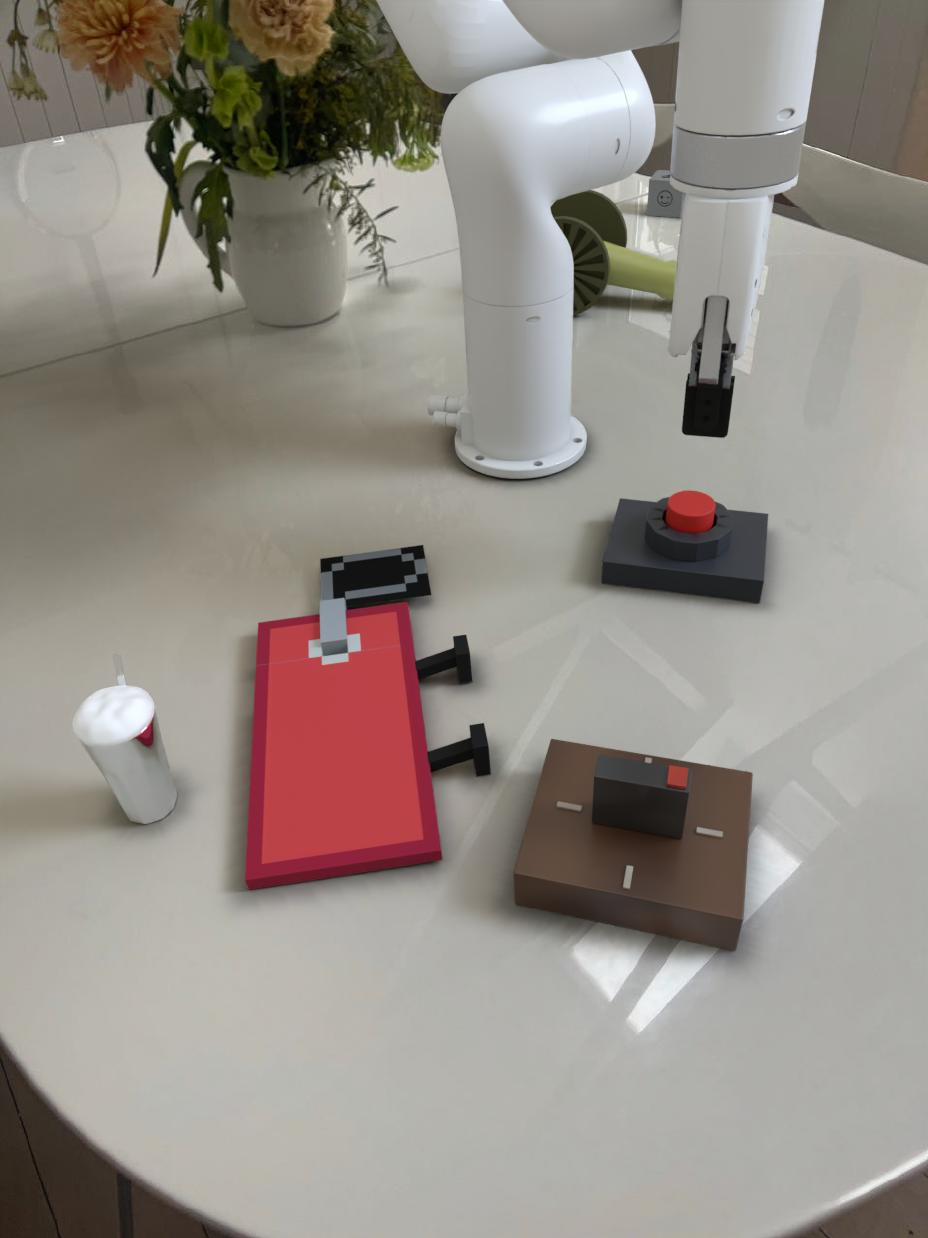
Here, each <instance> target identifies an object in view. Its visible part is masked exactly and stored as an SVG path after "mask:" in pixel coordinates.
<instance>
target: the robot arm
mask: <svg viewBox="0 0 928 1238" xmlns="http://www.w3.org/2000/svg"><path fill="white" fill-rule="evenodd" d="M375 1H376V4H377V6H378V7H379V8H380V11H381V12H382V15H383V17H384V18H385V21H386V23H388V25H389V28H390V29H391V31H392V33H393V35H394V36H395V39H396V40H397V42H398V44H399V46H400V48H401V49H402V52H403V53H404V55H405V57H406V58H407V61H408V63H410V65H411V67H412V68H413V70H414V72H415V73H416V74H417V76H418V77H419V79H420V80H421V81H422V83H424V84H425V85H426V86H427V88H430V89H431V90H433V91H435V92H436V93H437V92H438V93H440V94H448V95H449V94H450V95H451V94H456V95H455V96H454V97H453V99H452V100H451V101H450V103H449V104H448V106H447V108H446V110H445V112H444V114H443V118H442V120H441V121H442V122H441V127H440V148H441V156H442V161H443V166H444V170H445V175H446V179H447V183H448V188H449V192H450V196H451V200H452V205H453V210H454V217H455V222H456V229H457V237H458V246H459V247H458V248H459V259H460V275H461V276H460V277H461V289H462V304H463V305H462V307H463V321H464V340H465V359H466V360H465V361H466V377H467V394H461V396H460V397H450V396H448V395H438V394H430V395H429V396H428V400H427V413H428V415H429V416H432V425H433V426H435V427H453V428H455V429H456V432H455V436H454V450H455V453H456V456H457V457H458V459H459V460H460V461H461V462H462V463H463V464H465V466H467V467H468V468H470V469H471V470H473V471H475V472H478V473H480V474H483V475H486V476H489V477H495V478H500V479H509V480H524V479H525V480H526V479H534V478H542V477H546V476H551V475H554V474H557V473H559V472H561V471H564V470H565V469H568V468H570V467H571V466H572V465H574V464H575V463H576V462H578V461H579V460H580V459H581V458H582V457H583V456H584V454H585V451H586V450H587V441H588V435H587V429H586V428H585V426H584V424H583V423H581V421H580V420H579V419H577V418H576V417H574V416H573V415H572V384H573V383H572V382H573V381H572V379H573V376H572V375H573V337H574V336H573V335H574V331H573V330H574V325H573V324H574V315H573V292H574V265H573V256H572V251H571V248H570V245H569V243H568V240H567V239H566V237H565V235H564V234H563V232H562V231H561V229H560V228H559V226H558V224H557V223H556V221H555V219H554V218H553V216H552V213H551V206H552V204H553V203H554V202H555V201H556V200H559V199H562V198H565V197H567V196H570V195H573V194H577V193H581V192H585V191H588V190H595V189H600V188H602V187H606V186H610V185H613V184H616V183H618V182H621V181H624V180H625V179H627V178H629V177H630V176H632V175H633V174H635V173H636V172H637V171H639V169H641V167H642V166H643V165H644V164H645V163H646V161H647V160H648V158H649V156H650V154H651V152H652V149H653V146H654V142H655V137H656V125H657V123H656V110H655V105H654V100H653V96H652V93H651V89H650V87H649V83H648V81H647V79H646V76H645V74H644V73H643V70H642V68H641V66H640V65H639V62H638V60H637V59H636V57H635V55H634V54H633V51H634V50H640V49H643V48H649V47H658V46H664V45H670V44H675V43H679V44H678V55H677V68H676V69H677V71H676V85H675V99H674V100H675V101H674V110H673V111H674V112H673V127H672V129H673V130H672V139H671V140H672V141H671V155H670V166H669V167H670V169H669V171H670V185H671V186H672V187H673V188H674V189H676V190H678V191H680V192H683V193H686V194H685V199H684V205H683V212H682V216H681V218H680V219H681V220H680V228H679V236H678V244H677V254H676V261H677V264H676V275H675V286H674V297H673V301H672V308H671V309H672V310H671V317H670V318H671V319H670V329H669V339H668V347H667V351H668V353H669V354H670V356H671V357H672V358H678V356H686V355H687V354H688V352H689V350H690V355H691V356H690V365H689V366H690V368H689V372H688V373H687V378H686V381H685V390H684V391H685V392H684V400H683V401H684V402H683V412H682V423H681V432H682V434H683V435H685V436H692V437H703V438H704V437H707V438H717V439H724V438H726V437H727V436H728V433H729V428H730V427H729V426H730V420H731V412H732V406H733V405H732V404H733V396H734V389H735V381H736V375H733V367H734V361H737V360H739V359H740V358H741V357H743V356H744V355H745V352H746V348H747V345H748V340H749V336H750V333H751V328H752V323H753V319H754V315H755V312H756V307H757V302H758V297H759V294H760V293H759V292H760V288H761V282H762V276H763V271H764V267H765V260H766V253H767V247H768V241H769V235H770V228H771V221H772V214H773V207H774V201H775V195H778V194H782V193H785V192H788V191H789V190H791V189H792V188H794V187H796V185H797V184H798V179H799V175H800V173H799V172H800V167H801V166H800V165H801V158H802V153H803V146H804V141H805V140H804V139H805V134H806V133H805V132H806V126H807V119H808V113H809V107H810V100H811V93H812V87H813V79H814V74H815V67H816V62H817V55H818V54H817V53H818V47H819V40H820V34H821V27H822V21H823V14H824V8H825V3H826V2H825V0H375Z"/></svg>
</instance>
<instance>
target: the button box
mask: <svg viewBox="0 0 928 1238" xmlns="http://www.w3.org/2000/svg"><path fill="white" fill-rule="evenodd" d="M669 498H670V496H667V497H663V498H661V499H659V500H658V501H649V500H640V499H632V498H631V499H629V498H619V499H618V503H617V507H616V510H615V513H614V514H615V515H614V517H613V521H612V525H611V528H610V532H609V535H608V539H607V543H606V546H605V550H604V555H603V558H602V561H601V580H600V582H601V584H605V585H612V586H620V587H628V588H634V589H644V590H653V591H658V592H668V593H675V594H684V595H691V596H699V597H707V598H715V599H724V600H730V601H739V602H746V603H754V604H760V603H761V598H762V595H763V594H762V593H763V588H764V583H765V572H766V558H767V557H766V555H767V539H768V525H769V513H766V512H765V513H763V512H757V511H756V512H755V511H745V510H736V509H728V508H726V506H725V505H724V504H722V503H720V502H718V501H715V513H714V520H713V525H712V527H711V528H710V529H709V530H708V531H707V532H702V533H697V534H689V533H680V532H678V531H676V530H674V529H672V528H670V527H669V526H668V525H667V523H666V513H667V503H668V499H669Z"/></svg>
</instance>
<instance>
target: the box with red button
mask: <svg viewBox="0 0 928 1238" xmlns="http://www.w3.org/2000/svg"><path fill="white" fill-rule="evenodd" d="M691 776H692V770H689V769H688V768H683V767H677V766H671V765H670V766H665V765H659V764H653V763H647V762H640V761H634V760H628V759H622V758H616V757H610V756H604V755H599V756H598V760H597V765H596V769H595V774H594V786H593V804H592V823H597V824H602V825H608V826H613V827H619V828H624V829H629V830H635V831H640V832H646V833H651V834H657V835H662V836H668V837H673V838H679V839H682V837H683V831H684V824H685V818H686V812H687V805H688V799H689V793H690V784H691Z"/></svg>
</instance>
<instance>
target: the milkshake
mask: <svg viewBox="0 0 928 1238" xmlns="http://www.w3.org/2000/svg"><path fill="white" fill-rule="evenodd" d="M112 658H113V664H114V669H115V674H116V681H117V685H113V686H109V687H105V688H104V687H103V688H100V689H98V690H96V691H95V692H93V693H92V694H90V695H89V696H88V697H87V698H86V699H85V700H83V702H81V704H80V705H79V707H78V708H77V710H76V712H75V715H74V716H73V719H72V725H71V727H72V731H73V733H74V735H75V737H76V738H77V739H78V741H79V743H80V744H81V746H82V747H83V748H84V750H85V751H86V753H87V754H88V756H89V757H90V759H91V761H92V762H93V763H94V765H95V766H96V768H97V769H98V770H99V771H100V774H101V775H102V777H103V779H104V780H105V782H106V783H107V785H108V786H109V788H110V790H111V792H112V793H113V795H114V796H115V798H116V800H117V802H118V803H119V805H120V807H121V808H122V810H123V811H124V813H125V815H126V817H127V818H128V820H129V821H130V822H133V823H136V824H142V825H147V824H151V823H155V822H157V821H162V820H163V819H164V818H165V817H166V816H167V815H168V814H169V813H170V812H171V811H173V810H174V809H175V806H176V801H177V798H178V793H177V788H176V786H175V781H174V778H173V774H172V771H171V767H170V763H169V760H168V756H167V751H166V748H165V745H164V741H163V737H162V733H161V729H160V724H159V720H158V716H157V715H158V714H157V711H156V707H155V702H154V699H153V697H152V696H151V695H150V694H149V693H148V692H147V691H146V690H145V689H144V688H141V687H139V686H135V685H127V680H126V675H125V670H124V664H123V658H122V655H121V653H115V654H112Z"/></svg>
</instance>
